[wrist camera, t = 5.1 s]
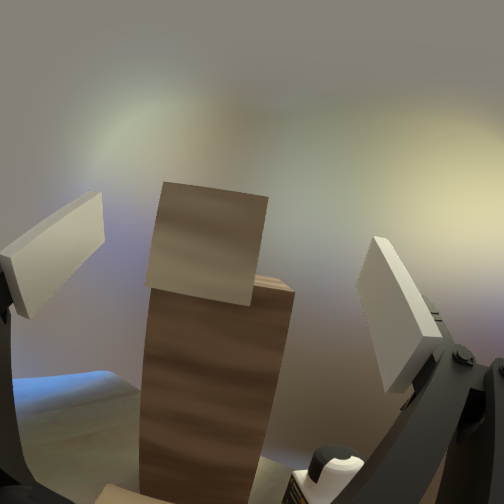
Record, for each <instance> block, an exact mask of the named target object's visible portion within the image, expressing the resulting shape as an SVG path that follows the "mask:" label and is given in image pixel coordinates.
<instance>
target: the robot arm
mask: <svg viewBox="0 0 504 504" xmlns="http://www.w3.org/2000/svg"><path fill="white" fill-rule="evenodd" d="M0 1H1V0H0ZM102 211H103V210H102V193H101V192H96V191H88V192H87V193H85V194H83V195H82V196H80V197H79V198H77V199H75V200H74V201H72V202H70V203H69V204H67V205H66V206H64V207H63V208H61V209H59V210H58V211H57V212H55V213H54V214H52V215H51V216H49V217H48V218H46V219H45V220H43V221H42V222H40V223H39V224H37V225H36V226H35V227H33V228H32V229H30V230H29V231H27V232H26V233H25V234H24V235H22V236H21V237H19V238H18V239H17V240H15V241H14V242H13V243H11V244H10V245H9V246H8V247H6V248H5V249H3V250H2V251H1V252H0V504H75V503H74V502H72V501H71V500H69V499H67V498H65V497H63V496H61V495H59V494H57V493H55V492H53V491H52V490H50V489H48V488H46V487H44V486H43V485H41V484H39V483H38V482H36V481H35V479H34V477H33V475H32V474H31V472H30V470H29V469H28V467H27V465H26V463H25V460H24V456H23V452H22V447H21V442H20V437H19V431H18V425H17V419H16V412H15V404H14V395H13V384H12V370H11V342H10V341H11V340H10V338H11V337H10V336H11V335H10V334H11V313H10V310H9V306H10V305H11V304H12V303H14V306H15V309H16V311H17V314H18V315H20V316H22V317H25V318H27V319H29V320H30V319H31V318H32V317H33V316H34V315H35V314H36V312H37V311H38V310H39V309H40V308H41V307H42V306H43V304H44V303H45V302H46V301H47V300H48V299H49V298H50V297H51V296H52V295H53V293H54V292H55V291H56V290H57V289H58V288H59V287H60V286H61V285H62V284H63V283H64V282H65V281H66V280H67V279H68V278H69V276H71V274H72V273H73V272H74V271H75V270H76V269H77V268H78V267H79V266H80V265H81V264H82V263H83V262H84V261H85V260H86V259H87V258H88V257H89V256H90V255H91V254H92V253H93V252H94V251H96V250H97V248H99V247H100V246H101V245H102V244H103V243H104V242H105V237H104V225H103V212H102ZM356 287H357V290H358V294H359V297H360V300H361V303H362V307H363V310H364V314H365V317H366V320H367V324H368V327H369V331H370V335H371V338H372V342H373V346H374V349H375V353H376V357H377V361H378V365H379V369H380V373H381V377H382V381H383V386H384V390H385V393H388V394H397V393H398V394H403V393H405V391H406V390H407V389H408V387H409V386H410V385H411V383H412V384H413V387H414V391H415V392H414V393H413V394H412V395H411V397H410V398H409V399H408V400H407V402H406V403H405V404H404V405H403V406H402V408H401V409H400V410H401V413H400V414H399V416H398V417H397V419H396V420H395V422H394V423H393V425H392V426H391V428H390V429H389V431H388V432H387V434H386V435H385V437H384V438H383V439H382V441H381V442H380V444H379V445H378V446H377V448H376V449H375V450H374V452H373V453H372V454H371V456H370V457H369V459H368V460H367V461H366V462H365V463H364V465H363V466H362V467H361V469H360V470H359V471H358V472H357V473H356V475H355V476H354V477H353V478H352V479H351V481H350V482H349V483H348V484H347V485H346V486H345V488H344V489H343V490H342V491H341V492H340V493H339V494H338V496H337V497H336V498H335V499H334V500H333V501H332V502H331V503H330V504H419V502H420V500H421V499H422V497H423V495H424V493H425V492H426V490H427V488H428V486H429V484H430V483H431V481H432V479H433V477H434V475H435V473H436V471H437V469H438V467H439V465H440V462H441V461H442V459H443V457H444V454H445V452H446V450H447V448H448V450H447V455H446V460H445V466H444V470H443V475H442V479H441V483H440V487H439V491H438V495H437V498H436V502H435V504H504V359H502V358H496V359H495V360H494V361H493V363H492V364H491V365H490V366H489V367H486V366H483V365H479V364H476V360H475V357H474V355H473V354H472V353H471V352H470V351H469V350H468V349H467V348H466V347H464V346H462V345H460V344H455V343H454V341H453V339H452V337H451V335H450V333H449V331H448V330H447V328H446V326H445V324H444V322H442V318H441V316H440V315H439V313H438V311H437V309H436V307H435V305H434V304H433V303H432V302H431V301H430V300H429V299H428V298H427V297H426V296H421V295H420V293H419V291H418V289H417V287H416V286H415V284H414V282H413V280H412V279H411V277H410V275H409V273H408V272H407V270H406V269H405V267H404V265H403V263H402V262H401V260H400V258H399V257H398V255H397V253H396V252H395V250H394V248H393V247H392V245H391V244H390V242H389V241H388V239H386V238H380V237H375V236H373V238H372V241H371V244H370V247H369V250H368V253H367V255H366V258H365V261H364V264H363V267H362V270H361V273H360V275H359V278H358V281H357V284H356Z"/></svg>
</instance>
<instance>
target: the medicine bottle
mask: <svg viewBox="0 0 504 504" xmlns="http://www.w3.org/2000/svg"><path fill="white" fill-rule="evenodd" d="M363 465H364V460H363V458H362V456H361V455H360V454H359V453H358V452H357V451H356V450H354V449H352V448H349V447H346V446H342V445H327V446H323V447H321V448H319V449H317V450H316V451H315V452H314V454H313V457H312V461H311V463H310V466H309V469H308V470H301V471H293V472H292V475H291V478H290V481H289V483H288V486H287V489H286V492H285V495H284V497H283V500H282V503H281V504H330V503H331V502H332V501H333V500H334V499H335V498H336V497H337V496H338V494H339V493H340V492H341V491H342V490H343V489H344V488H345V486H346V485H347V484H348V483H349V482H350V481H351V479H352V478H353V477H354V476H355V475H356V473H357V472H358V471H359V470H360V469H361V467H362V466H363Z"/></svg>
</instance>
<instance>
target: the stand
mask: <svg viewBox="0 0 504 504" xmlns="http://www.w3.org/2000/svg"><path fill="white" fill-rule="evenodd" d="M294 295H295V291H293V290H292V289H291V288H289V287H288V286H287V285H285V284H284V283H283V282H281V281H280V280H279V279H277V278H275V277H268V276H263V275H257V274H255V280H254V286H253V292H252V298H251V303H250V306H245V305H239V304H233V303H227V302H222V301H216V300H211V299H206V298H200V297H195V296H190V295H185V294H180V293H175V292H170V291H165V290H160V289H156V288H151V294H150V302H149V310H148V318H147V327H146V337H145V347H144V358H143V371H142V385H141V403H140V432H139V478H140V494H141V495H145V496H148V497H151V498H155V499H159V500H162V501H166V502H170V503H174V504H247V503H248V499H249V496H250V492H251V489H252V485H253V481H254V477H255V474H256V470H257V466H258V462H259V458H260V454H261V450H262V446H263V442H264V438H265V434H266V430H267V426H268V421H269V417H270V413H271V408H272V404H273V400H274V395H275V391H276V386H277V381H278V377H279V372H280V367H281V363H282V358H283V353H284V348H285V343H286V338H287V333H288V328H289V322H290V317H291V312H292V306H293V301H294Z"/></svg>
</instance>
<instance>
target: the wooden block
mask: <svg viewBox="0 0 504 504" xmlns="http://www.w3.org/2000/svg"><path fill="white" fill-rule="evenodd" d="M267 203H268V197H265V196H259V195H253V194H247V193H241V192H234V191H228V190H221V189H214V188H207V187H201V186H193V185H185V184H178V183H170V182H163V187H162V192H161V196H160V201H159V206H158V211H157V216H156V221H155V227H154V232H153V237H152V243H151V249H150V255H149V261H148V268H147V275H146V281H145V286H146V287H151V288H156V289H160V290H165V291H170V292H175V293H180V294H185V295H190V296H195V297H200V298H206V299H211V300H216V301H222V302H227V303H233V304H239V305H245V306H250V303H251V298H252V292H253V286H254V280H255V274H256V268H257V262H258V256H259V250H260V244H261V239H262V232H263V227H264V221H265V215H266V209H267Z"/></svg>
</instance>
